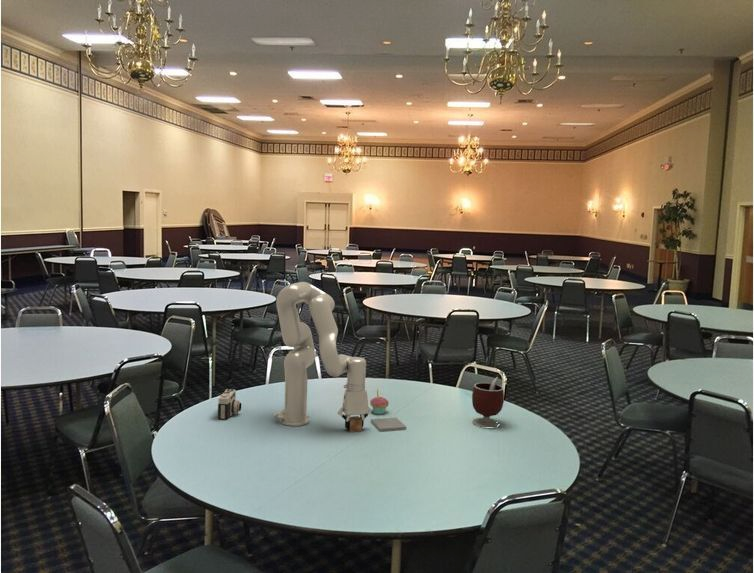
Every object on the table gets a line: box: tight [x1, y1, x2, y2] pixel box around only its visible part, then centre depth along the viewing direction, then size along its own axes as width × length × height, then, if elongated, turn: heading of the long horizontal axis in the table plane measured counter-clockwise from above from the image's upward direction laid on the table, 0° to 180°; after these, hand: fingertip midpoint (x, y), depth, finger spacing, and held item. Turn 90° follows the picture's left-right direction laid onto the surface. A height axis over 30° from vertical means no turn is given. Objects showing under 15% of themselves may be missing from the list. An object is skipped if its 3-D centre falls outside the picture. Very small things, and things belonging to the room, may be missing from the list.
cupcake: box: [369, 387, 389, 415], centre depth 270 cm, size 9×8×12 cm
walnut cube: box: [348, 415, 363, 433], centre depth 247 cm, size 5×5×5 cm
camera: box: [217, 388, 242, 421], centre depth 258 cm, size 14×8×10 cm, turn 179°
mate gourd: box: [471, 376, 505, 428], centre depth 262 cm, size 16×14×20 cm
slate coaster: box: [370, 417, 407, 433], centre depth 254 cm, size 12×12×1 cm
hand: (354, 428), depth 247 cm, fingers closed on walnut cube, 5 cm apart
